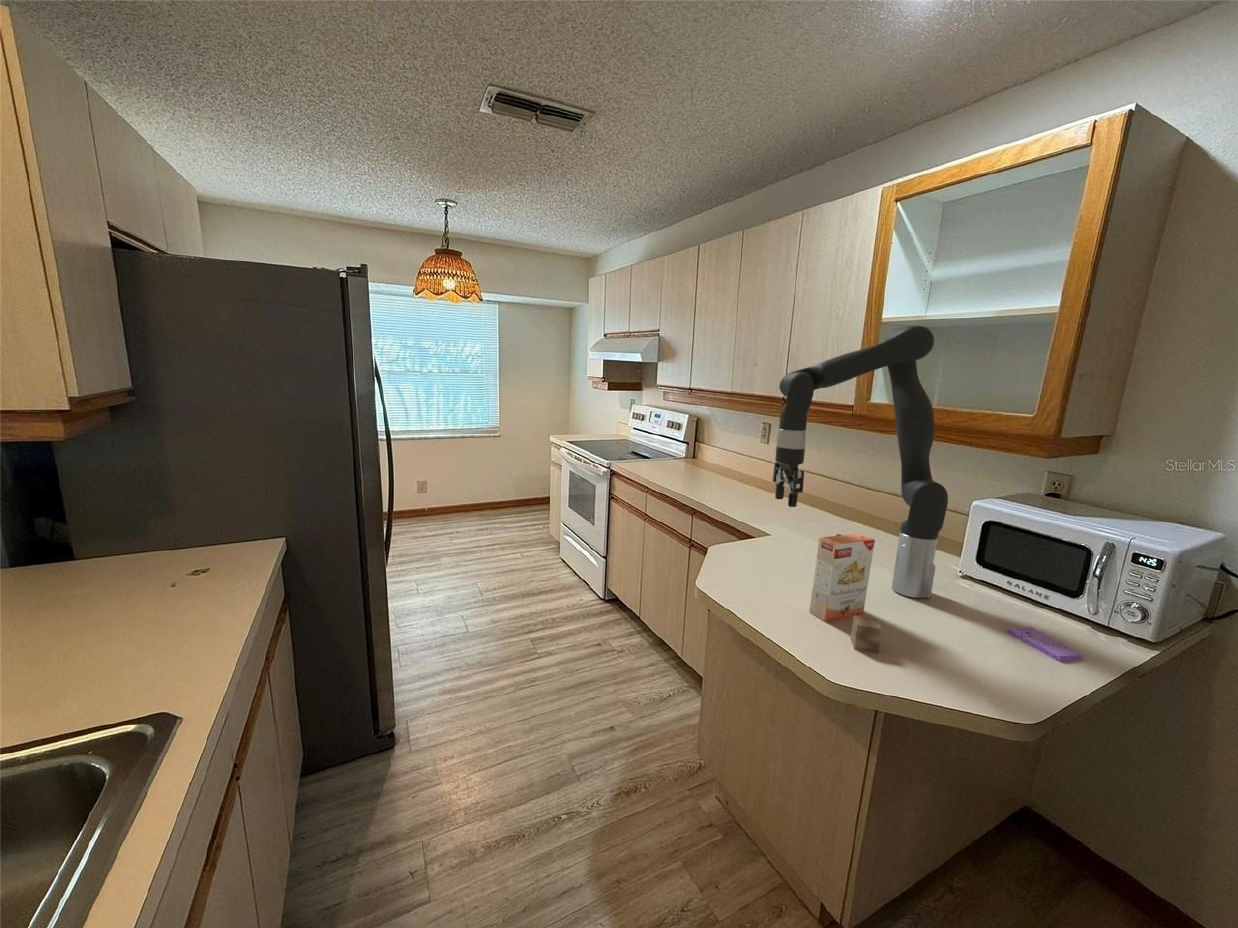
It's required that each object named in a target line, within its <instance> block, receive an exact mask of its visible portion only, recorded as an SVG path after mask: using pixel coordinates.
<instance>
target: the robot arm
mask: <svg viewBox="0 0 1238 928" xmlns="http://www.w3.org/2000/svg"><path fill="white" fill-rule="evenodd" d="M934 344H935V337H934V335H933V332H932V331H931V330H930V329H929V328H928V327H926V326H923V325H917V324H916V325H909V326H904V327H899V328H895V329H894V330H892V331H890V332H889V333H888V334H887V335H886V337H885V339H884V341H883V342H880V343H877V344H875V345H872V346H869V347H865V348H861V349H858V350H855V351H850V352H847V353H844V354H841V355H838V356H835V357H832V358H830V359H827V360H824V361H822V362H820V363H817V364H815V365H812V366H808V367H805V368H800V369H797V370H794V371H791V372H788V373H787V374H785V375H784V376H783V377H781V380H780V382H779V391H780V393H781V394H782V395H783V396H785V397H786V401H785V407H784V408H782V410H781V412H780V415H779V424H778V425H779V426H778V432H777V437H776V448H775V457H774V458H775V461H776V462H774V466H773V472H772V473H773V476H772V482H773V483H774V486H775V495H774V496H775V497H774V498H775V499H776V500H783V499H784V497H785V486H786V487H787V488H788V501H787V506H788V507H790V508H795V507H797V505H798V495H799V494H802V493H803V492H804V479H805V472H804V470H799V465H803V464H804V462H805V454H806V453H805V452H806V443H807V435H806V434H807V423H808V414H809V410H810V408H811V403H812V401H813V397H814V394H815V393H814V392H815V390H819V389H826V388H831V387H834V386H836V385H840V384H842V383H844V382H847V381H850V380H853V379H855V378H857V377H860V376H862V375H865V374H868V373H870V372H873V371H877V370H878V369H882V368H884V367H885V368H886V367H887V370H888V375H889V378H890V384H891V393H892V402H893V408H894V421H895V428H896V429H895V431H896V436H897V444H898V450H899V457H900V464H901V466H900V467H901V470H900V471H901V479H900V480H901V482H900V484H901V487H900V489H901V496H902V499H903V501H904V503H905V504H906V505H908V506H909V511H908V517H907V519H906V520H904V521H902V522H901V523H900V529H899V535H898V536H899V537H898V543H897V549H896V554H895V555H896V556H895V563H894V570H893V576H892V581H891V589H892V590H893V591H894V592H895V593H898V594H900V595H903V596H905V597H909V598H910V597H911V598H915V599H924V598H927V599H928V598H929V599H930V598H931V597H932V590H933V585H934V579H935V573H936V572H935V571H936V565H935V564H934V561H935V557H936V550H937V543H938V537H939V533H940V531H941V530H942V529H943V526H944V524H945V523H944V522H945V517H946V513H947V509H948V505H949V504H948V503H949V494H948V491H947V489H946V488H945V486H943V485H942V484H941V483H939V482H937V481H935V480H933V477H932V472H931V465H930V454H931V450H932V446H933V444H934V439H935V433H936V423H935V417H934V416H935V415H934V408H933V405H932V401H931V400H930V398H929V396H928V394H927V393H926V390H925V389H924V387H923V385H922V383H921V381H920V379H919V375H918V368H917V367H918V366H917V361H919V360H922V359H924V358H925V357H926V356H928V355H929V353H931V351H932V350H933V347H934Z"/></svg>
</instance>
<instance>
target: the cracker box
mask: <svg viewBox="0 0 1238 928" xmlns="http://www.w3.org/2000/svg"><path fill="white" fill-rule="evenodd" d="M875 542H876V540H875V539H874V538H872V537H870V536H867V535H863V534H861V533H857V532H854V533H847V534H841V535H838V536H836V535H831V536H824V537H819V539H818V545H817V546H818V547H817V554H816V562H815V569H814V576H813V583H812V589H811V590H812V591H811V597H810V605H809V614H811V615H813V616H815V617H816V618H818V619H819V620H821V621H823V622H824V623H827V622H832V621H835V620H840V619H845V618H849V617H854V615H855V616H858V615H860V614H864V610H865V604H866V603H865V602H866V598H867V591H868V586H869V579H870V572H871V567H872V560H873V554H874V550H875V549H874V547H875Z"/></svg>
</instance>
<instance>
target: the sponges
mask: <svg viewBox="0 0 1238 928" xmlns="http://www.w3.org/2000/svg"><path fill="white" fill-rule="evenodd" d="M1007 629H1008V631H1007V633H1009V634H1010V635H1012V636H1013V637H1015V638H1017V639H1019V640H1021V642H1024V643H1026V644H1028V645H1029V646H1031V647H1032V648H1034V649H1035V650H1038V651H1039V652H1040V653H1043V654H1045V655H1046V656H1047V657H1049V658H1051V659H1052V660H1055V661H1058V662H1067V661H1072V660H1073V661H1075V660H1082V659H1083V653H1081V652H1079V651H1077V650H1075V649H1073V648H1072V647H1070V646H1069V645H1068V646H1067V645H1066V644H1063V643H1061V642H1060V641H1058V640H1057V639H1054V638H1053V637H1050V636H1049V635H1047V634H1046V633H1043V632H1041V631H1040V630H1038V629H1036V628H1034V627H1032V626H1022V627H1008V628H1007Z"/></svg>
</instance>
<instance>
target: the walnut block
mask: <svg viewBox="0 0 1238 928" xmlns="http://www.w3.org/2000/svg"><path fill="white" fill-rule="evenodd" d="M852 617H853V618H852V625H851V633H850V641H851V644H852V647H853V650H857V651H863V652H867V653H873V654H879V651H880V650H879V648H880V643H881V637H882V631H883V630H882V627H881V624H880V622H879V620H878V619H877V618H873V617H867V616H861V615H853V616H852Z"/></svg>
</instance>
